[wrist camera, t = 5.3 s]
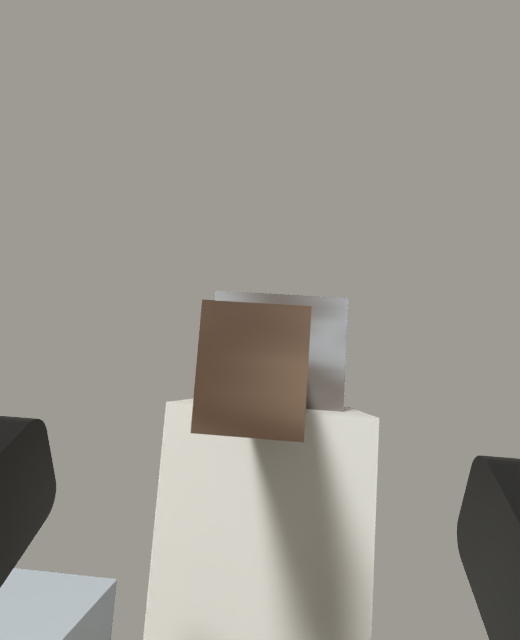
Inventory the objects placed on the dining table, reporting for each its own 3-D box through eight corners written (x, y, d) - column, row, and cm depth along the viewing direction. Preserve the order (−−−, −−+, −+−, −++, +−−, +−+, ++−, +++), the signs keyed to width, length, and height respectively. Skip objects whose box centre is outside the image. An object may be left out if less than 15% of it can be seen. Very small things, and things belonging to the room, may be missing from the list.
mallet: (331, 405, 26) (336, 317, 27) (421, 452, 8) (428, 173, 9) (225, 398, 27) (232, 311, 27) (80, 424, 8) (112, 162, 9)
